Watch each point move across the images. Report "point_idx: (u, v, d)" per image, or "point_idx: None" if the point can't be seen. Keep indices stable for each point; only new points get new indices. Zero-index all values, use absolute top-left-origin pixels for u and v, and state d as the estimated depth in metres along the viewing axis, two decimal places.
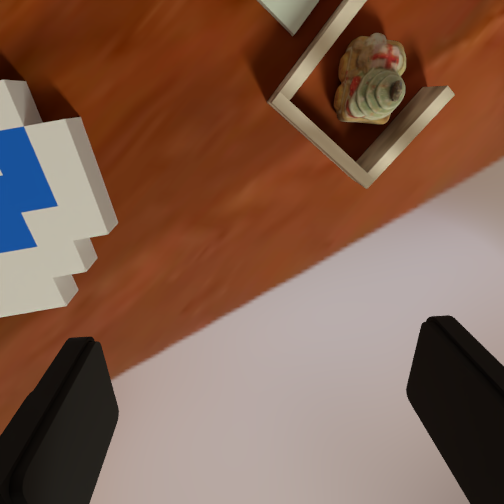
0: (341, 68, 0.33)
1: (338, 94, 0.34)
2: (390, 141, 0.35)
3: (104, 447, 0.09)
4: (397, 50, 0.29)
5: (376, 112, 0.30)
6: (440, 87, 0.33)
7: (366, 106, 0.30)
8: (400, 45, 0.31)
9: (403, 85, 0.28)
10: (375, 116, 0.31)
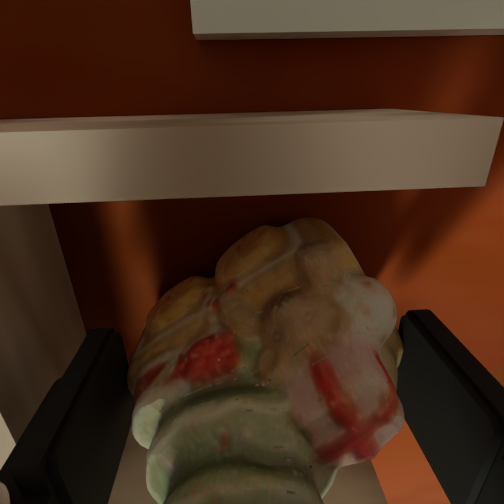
0: (238, 253, 0.10)
1: (174, 304, 0.10)
2: None
3: (124, 434, 0.09)
4: (395, 431, 0.07)
5: None
6: (377, 487, 0.12)
7: (162, 489, 0.07)
8: (399, 358, 0.09)
9: None
10: None
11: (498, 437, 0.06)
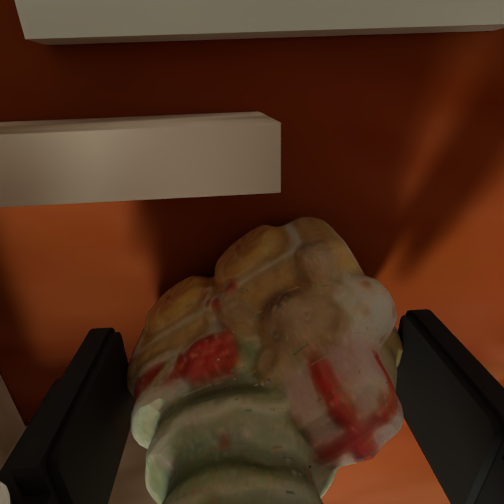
0: (237, 253, 0.10)
1: (173, 304, 0.10)
2: None
3: (125, 434, 0.09)
4: (395, 431, 0.07)
5: None
6: None
7: (161, 489, 0.07)
8: (398, 358, 0.09)
9: None
10: None
11: (498, 437, 0.06)
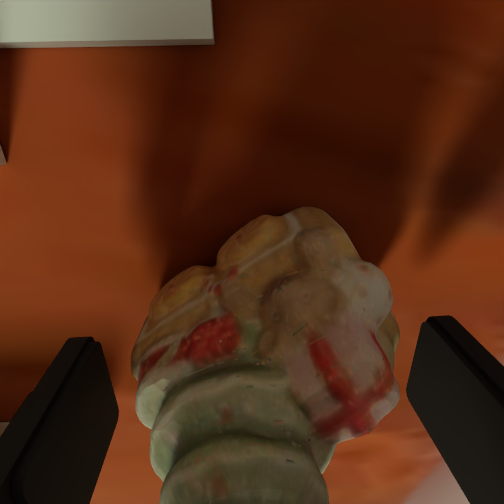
0: (238, 241, 0.10)
1: (176, 291, 0.10)
2: None
3: (104, 447, 0.09)
4: (391, 407, 0.07)
5: None
6: None
7: (165, 464, 0.07)
8: (395, 343, 0.10)
9: None
10: None
11: None
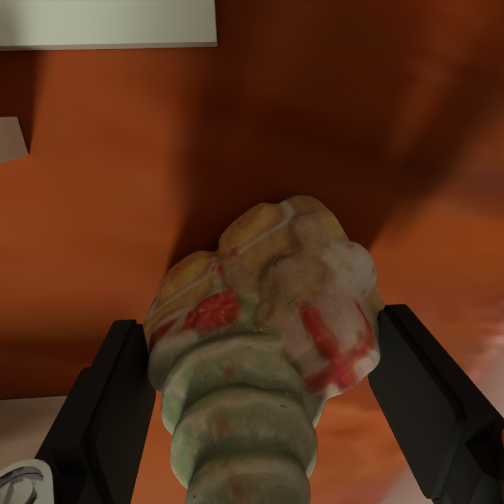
0: (239, 226, 0.11)
1: (182, 272, 0.11)
2: None
3: (147, 422, 0.10)
4: (372, 365, 0.08)
5: (176, 474, 0.08)
6: None
7: (175, 417, 0.08)
8: None
9: None
10: None
11: (460, 424, 0.07)
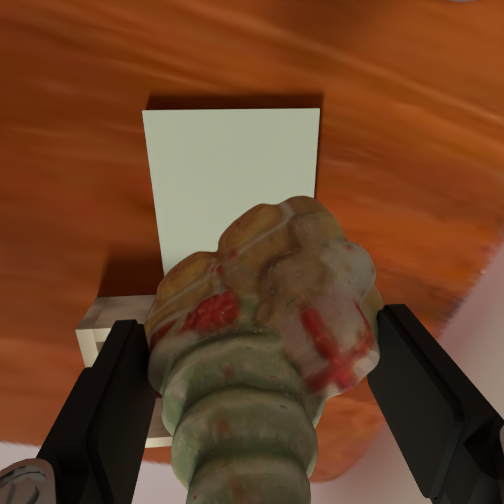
0: (238, 227, 0.11)
1: (182, 273, 0.11)
2: None
3: (148, 422, 0.10)
4: (372, 365, 0.08)
5: (176, 475, 0.08)
6: None
7: (175, 418, 0.08)
8: None
9: None
10: None
11: (458, 423, 0.07)
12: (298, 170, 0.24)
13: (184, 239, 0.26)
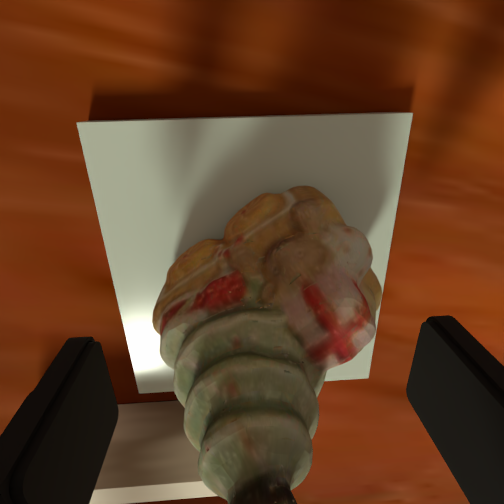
0: (243, 215, 0.12)
1: (190, 258, 0.12)
2: None
3: (104, 447, 0.09)
4: (369, 338, 0.09)
5: (189, 438, 0.08)
6: None
7: (187, 387, 0.09)
8: (378, 299, 0.11)
9: (300, 480, 0.07)
10: None
11: None
12: (364, 222, 0.14)
13: None
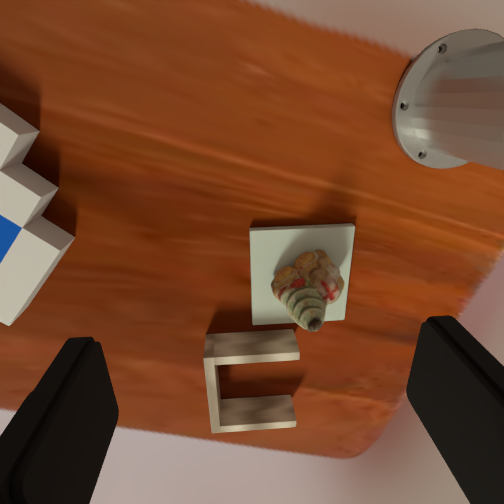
0: (301, 259, 0.37)
1: (284, 273, 0.37)
2: (247, 416, 0.47)
3: (104, 447, 0.09)
4: (338, 294, 0.34)
5: (293, 318, 0.34)
6: (294, 415, 0.47)
7: (292, 307, 0.35)
8: (343, 285, 0.37)
9: (321, 323, 0.33)
10: (291, 317, 0.35)
11: None
12: (340, 259, 0.40)
13: (267, 300, 0.41)
